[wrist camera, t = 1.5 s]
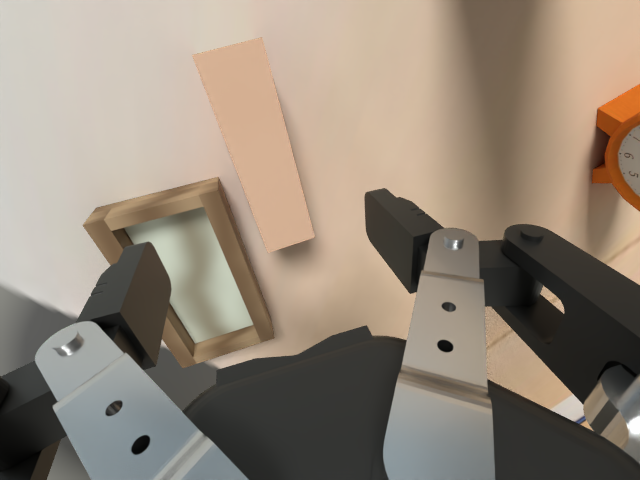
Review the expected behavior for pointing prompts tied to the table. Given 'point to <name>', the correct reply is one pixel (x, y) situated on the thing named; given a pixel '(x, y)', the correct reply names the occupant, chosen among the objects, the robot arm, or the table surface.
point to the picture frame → (192, 267)
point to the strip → (257, 139)
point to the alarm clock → (621, 145)
